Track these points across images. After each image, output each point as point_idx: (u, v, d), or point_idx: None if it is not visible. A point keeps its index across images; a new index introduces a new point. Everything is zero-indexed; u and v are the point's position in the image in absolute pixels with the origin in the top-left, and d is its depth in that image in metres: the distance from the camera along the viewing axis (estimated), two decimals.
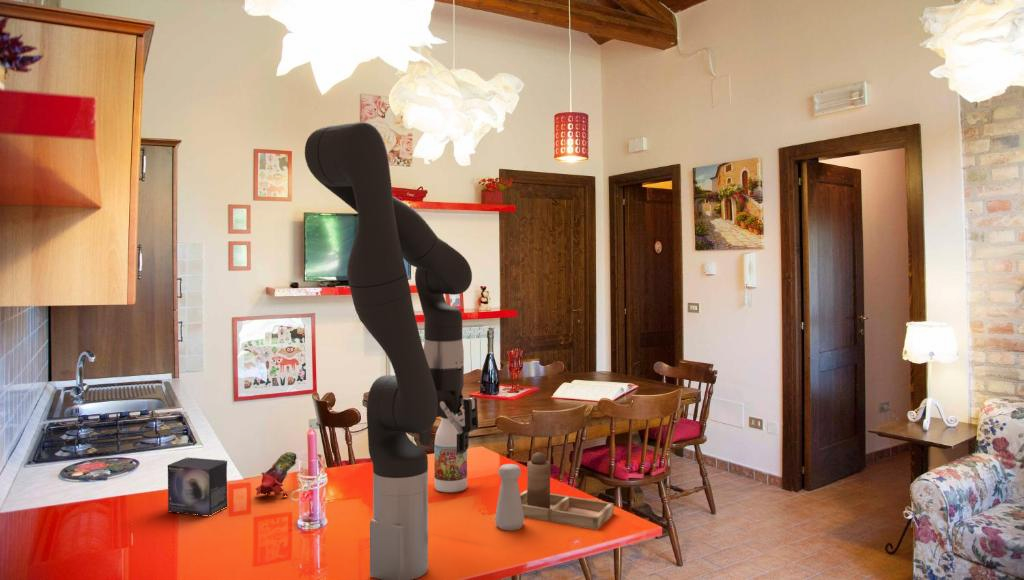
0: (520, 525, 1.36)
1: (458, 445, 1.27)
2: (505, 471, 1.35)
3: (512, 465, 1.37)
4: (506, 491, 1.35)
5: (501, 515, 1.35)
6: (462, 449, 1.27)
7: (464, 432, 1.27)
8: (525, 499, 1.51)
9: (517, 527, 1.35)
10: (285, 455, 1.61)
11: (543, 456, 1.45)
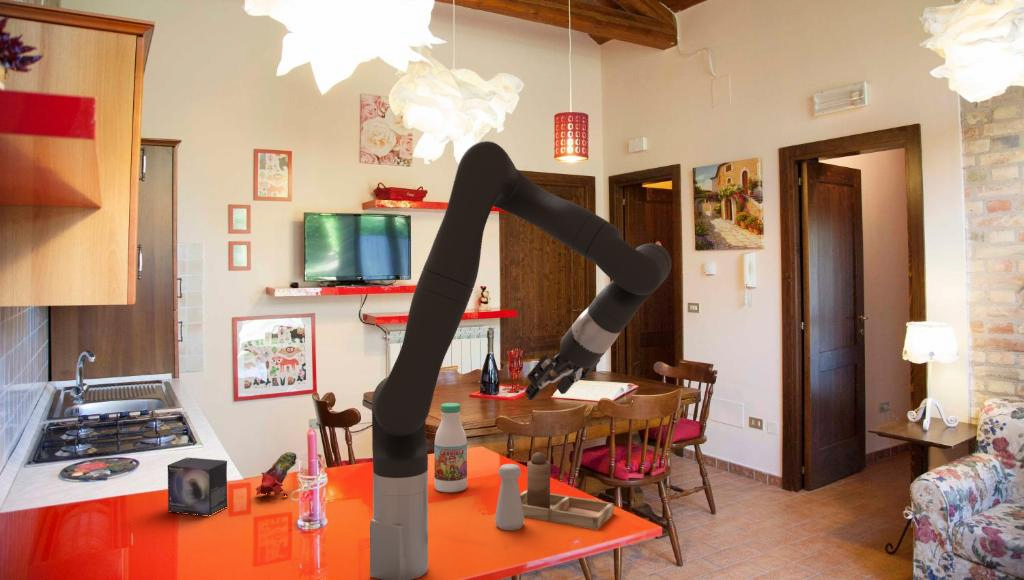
0: (520, 525, 1.36)
1: None
2: (506, 471, 1.35)
3: (512, 465, 1.37)
4: (506, 491, 1.35)
5: (501, 515, 1.35)
6: None
7: None
8: (525, 499, 1.51)
9: (517, 527, 1.35)
10: (285, 455, 1.61)
11: (543, 456, 1.45)
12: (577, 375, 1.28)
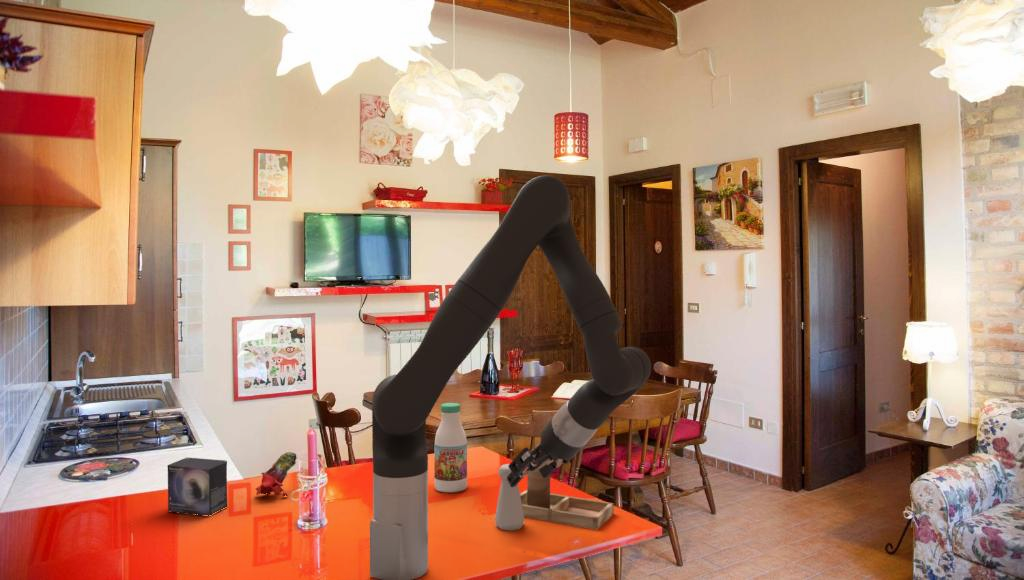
0: (520, 525, 1.36)
1: (511, 473, 1.30)
2: (505, 471, 1.35)
3: None
4: (506, 491, 1.35)
5: (501, 515, 1.35)
6: None
7: None
8: (525, 499, 1.51)
9: (517, 527, 1.35)
10: (285, 455, 1.61)
11: None
12: (558, 463, 1.30)
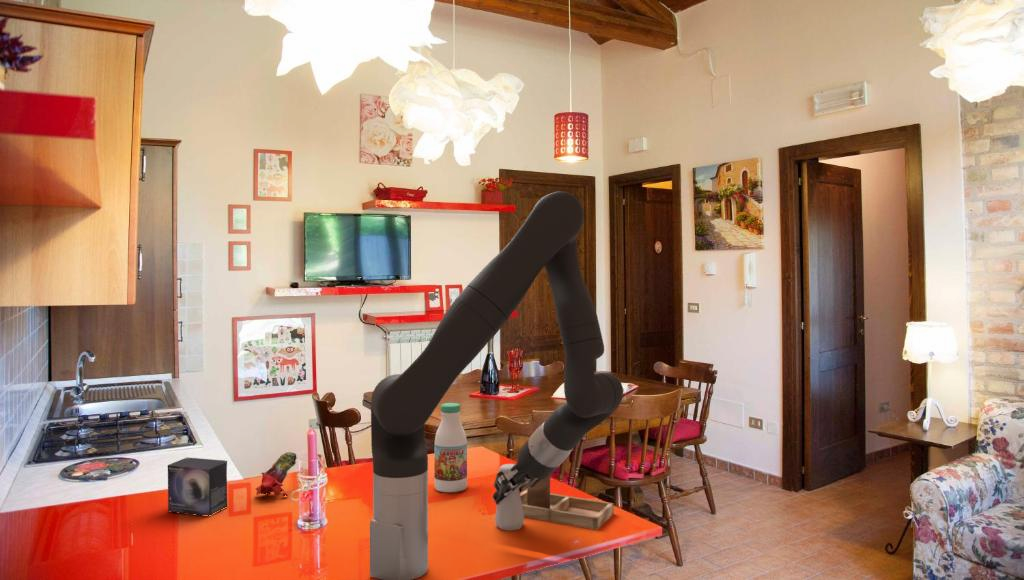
0: (520, 525, 1.36)
1: (496, 491, 1.37)
2: (506, 471, 1.35)
3: (512, 465, 1.37)
4: None
5: (501, 515, 1.35)
6: None
7: None
8: (525, 499, 1.51)
9: (517, 527, 1.35)
10: (285, 455, 1.61)
11: None
12: (530, 483, 1.35)
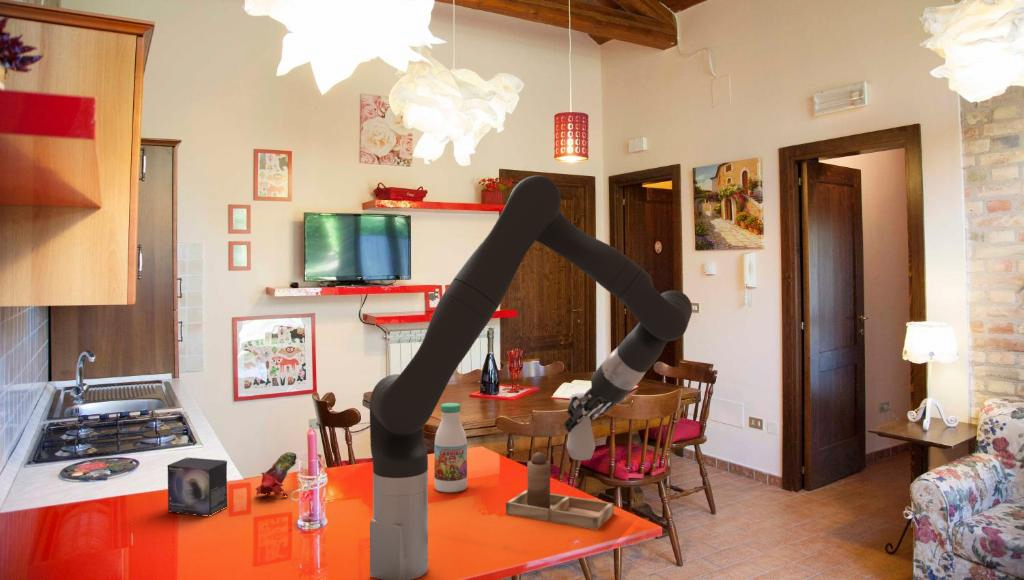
0: (592, 451, 1.40)
1: (568, 419, 1.41)
2: None
3: (583, 394, 1.41)
4: None
5: (573, 442, 1.39)
6: (565, 423, 1.41)
7: None
8: (525, 499, 1.51)
9: (589, 453, 1.40)
10: (285, 455, 1.61)
11: (543, 456, 1.45)
12: (602, 410, 1.39)
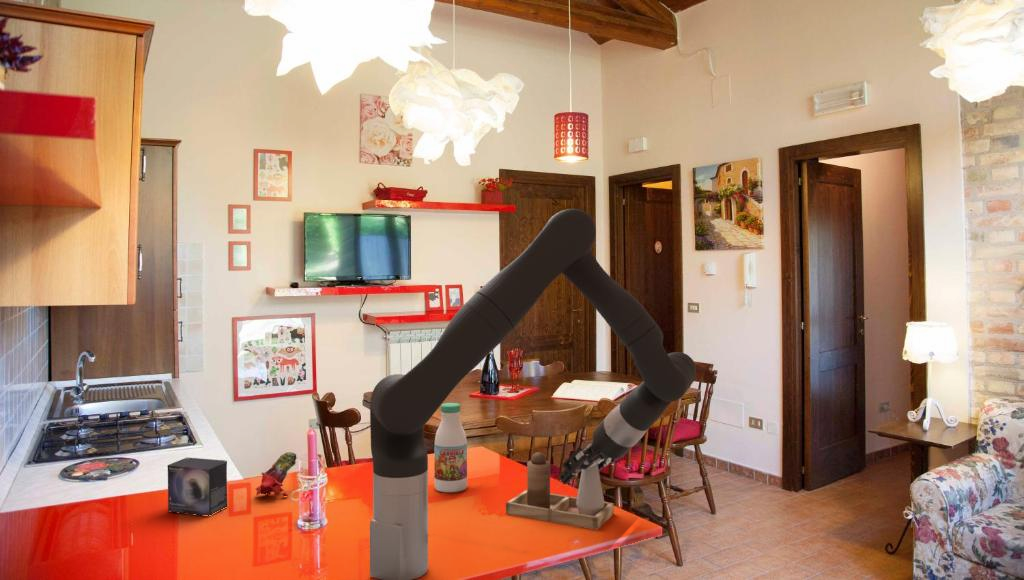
0: (601, 509, 1.41)
1: (563, 471, 1.40)
2: None
3: None
4: (588, 476, 1.41)
5: (583, 500, 1.40)
6: (560, 475, 1.39)
7: None
8: (525, 499, 1.51)
9: (599, 511, 1.41)
10: (285, 455, 1.61)
11: (543, 456, 1.45)
12: (607, 462, 1.40)
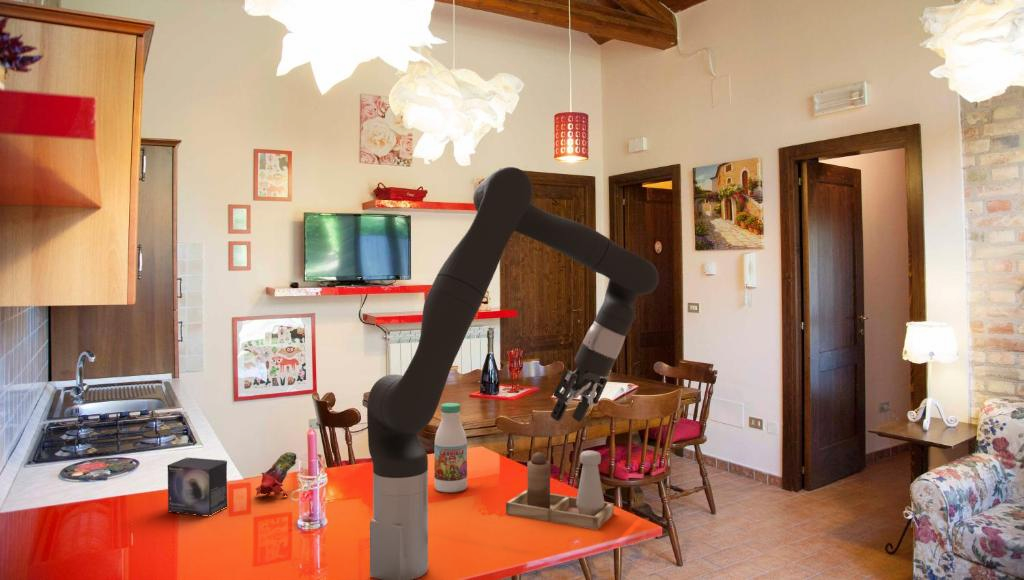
0: (601, 509, 1.41)
1: None
2: (588, 457, 1.40)
3: (593, 451, 1.42)
4: (588, 476, 1.41)
5: (583, 500, 1.40)
6: None
7: (558, 398, 1.38)
8: (525, 499, 1.51)
9: (599, 511, 1.41)
10: (285, 455, 1.61)
11: (543, 456, 1.45)
12: (592, 394, 1.42)
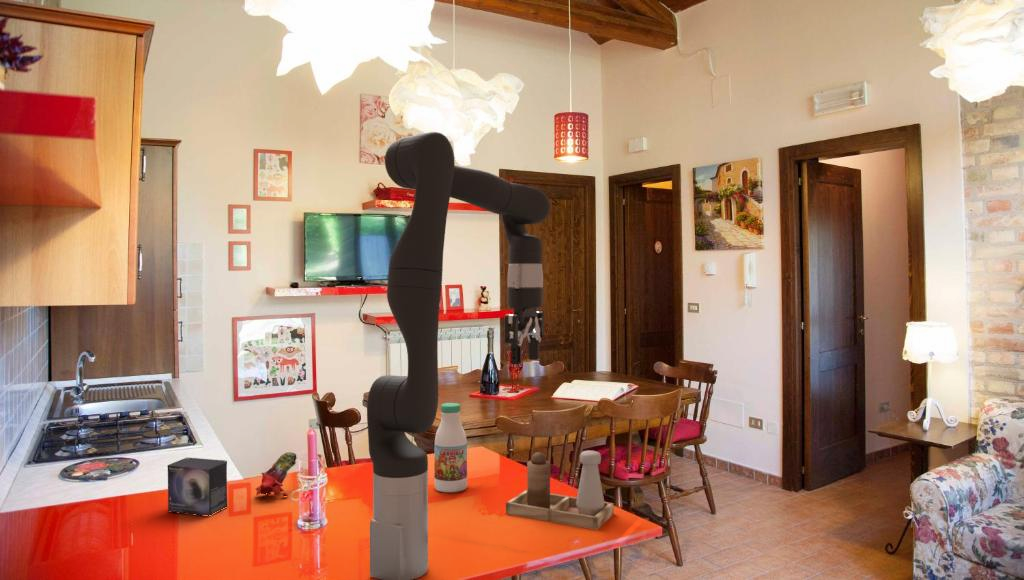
0: (601, 509, 1.41)
1: None
2: (588, 457, 1.40)
3: (593, 451, 1.42)
4: (588, 476, 1.41)
5: (583, 500, 1.40)
6: None
7: None
8: (525, 499, 1.51)
9: (599, 511, 1.41)
10: (285, 455, 1.61)
11: (543, 456, 1.45)
12: (537, 328, 1.48)
